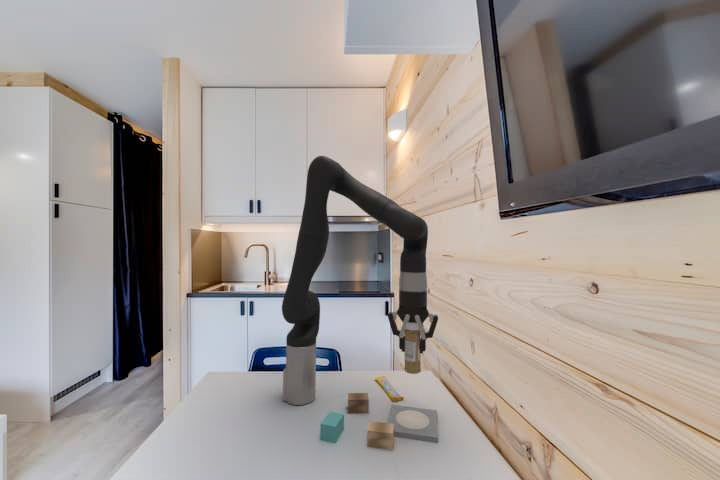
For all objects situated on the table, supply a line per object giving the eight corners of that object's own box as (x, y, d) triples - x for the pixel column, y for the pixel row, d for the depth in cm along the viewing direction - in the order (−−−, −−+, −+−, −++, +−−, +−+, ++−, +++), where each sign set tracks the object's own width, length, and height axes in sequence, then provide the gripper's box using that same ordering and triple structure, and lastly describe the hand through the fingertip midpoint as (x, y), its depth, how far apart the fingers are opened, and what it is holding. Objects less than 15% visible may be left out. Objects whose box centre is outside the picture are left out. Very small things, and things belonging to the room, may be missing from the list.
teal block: (320, 440, 75) (320, 423, 75) (329, 426, 81) (330, 411, 81) (335, 443, 74) (335, 426, 74) (344, 429, 79) (344, 414, 80)
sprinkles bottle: (424, 372, 82) (424, 321, 82) (411, 376, 79) (412, 324, 80) (412, 366, 86) (412, 318, 86) (400, 370, 83) (400, 320, 83)
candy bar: (404, 402, 94) (405, 396, 94) (392, 404, 93) (392, 398, 93) (385, 380, 110) (385, 374, 110) (374, 381, 109) (374, 376, 109)
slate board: (384, 434, 77) (385, 429, 77) (391, 408, 90) (391, 404, 90) (437, 442, 74) (437, 437, 74) (436, 414, 87) (436, 409, 87)
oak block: (367, 447, 72) (367, 430, 73) (369, 437, 76) (370, 421, 76) (392, 450, 71) (392, 433, 71) (393, 440, 75) (393, 423, 75)
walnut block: (347, 413, 87) (347, 399, 87) (347, 406, 91) (347, 393, 91) (368, 413, 87) (368, 399, 87) (367, 406, 91) (367, 393, 91)
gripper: (384, 289, 81) (384, 354, 80) (440, 291, 78) (440, 359, 77) (388, 285, 88) (388, 345, 88) (439, 287, 85) (439, 349, 85)
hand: (412, 351), depth 83 cm, fingers closed on sprinkles bottle, 4 cm apart
